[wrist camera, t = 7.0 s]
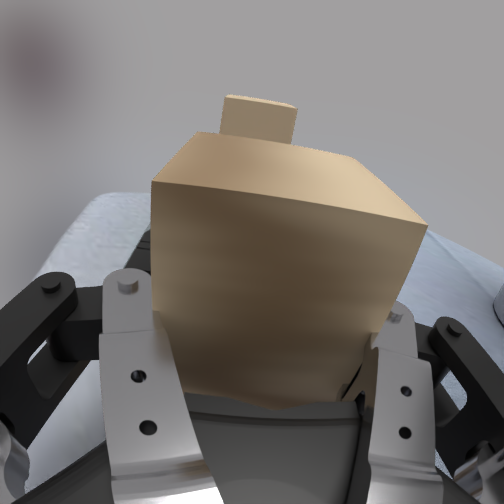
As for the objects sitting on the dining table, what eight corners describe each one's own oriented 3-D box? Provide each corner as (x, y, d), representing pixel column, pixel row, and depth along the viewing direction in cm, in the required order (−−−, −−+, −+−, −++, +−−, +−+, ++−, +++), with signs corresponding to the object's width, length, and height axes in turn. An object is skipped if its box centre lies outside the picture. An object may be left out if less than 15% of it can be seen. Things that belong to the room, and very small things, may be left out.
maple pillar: (287, 365, 15) (353, 157, 10) (297, 458, 10) (428, 225, 5) (183, 354, 14) (197, 131, 9) (167, 449, 10) (151, 180, 5)
